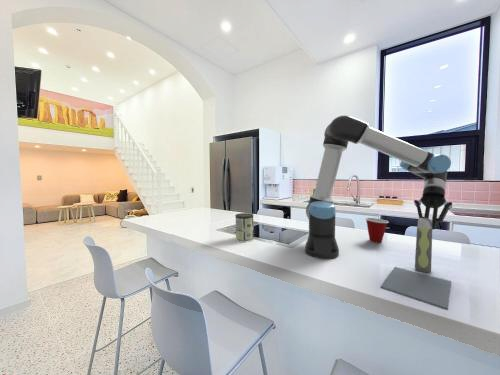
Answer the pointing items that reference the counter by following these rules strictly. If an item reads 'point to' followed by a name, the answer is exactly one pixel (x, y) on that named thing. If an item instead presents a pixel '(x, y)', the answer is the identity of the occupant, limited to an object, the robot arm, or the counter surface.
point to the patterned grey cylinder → (423, 245)
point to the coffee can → (244, 227)
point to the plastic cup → (376, 229)
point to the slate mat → (419, 286)
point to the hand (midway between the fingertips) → (428, 234)
